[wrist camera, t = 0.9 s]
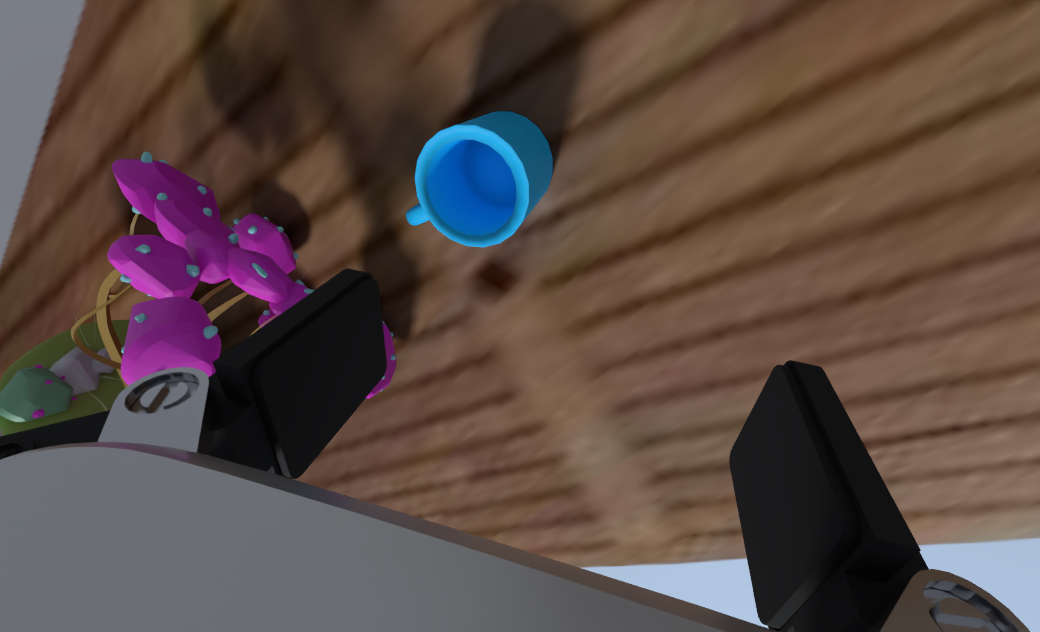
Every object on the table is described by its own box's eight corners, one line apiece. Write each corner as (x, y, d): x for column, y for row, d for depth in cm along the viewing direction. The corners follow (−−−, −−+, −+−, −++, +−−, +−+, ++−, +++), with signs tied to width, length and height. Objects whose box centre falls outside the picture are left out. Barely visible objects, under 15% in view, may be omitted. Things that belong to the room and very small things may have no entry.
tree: (-235, 495, 30) (-111, 201, 17) (83, 277, 53) (239, 78, 40) (189, 612, 45) (424, 499, 32) (296, 402, 68) (459, 287, 55)
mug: (524, 90, 32) (491, 99, 26) (569, 189, 35) (550, 221, 29) (407, 160, 38) (354, 183, 31) (454, 242, 40) (415, 279, 34)
